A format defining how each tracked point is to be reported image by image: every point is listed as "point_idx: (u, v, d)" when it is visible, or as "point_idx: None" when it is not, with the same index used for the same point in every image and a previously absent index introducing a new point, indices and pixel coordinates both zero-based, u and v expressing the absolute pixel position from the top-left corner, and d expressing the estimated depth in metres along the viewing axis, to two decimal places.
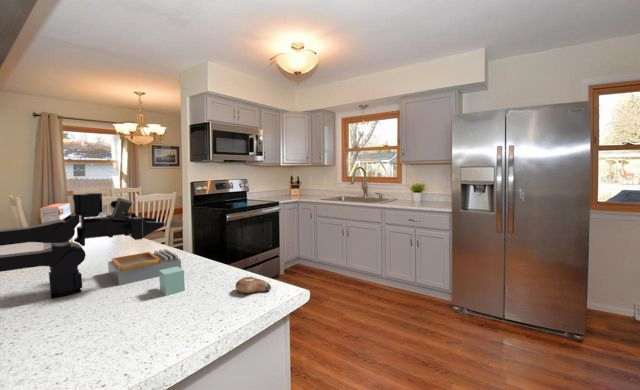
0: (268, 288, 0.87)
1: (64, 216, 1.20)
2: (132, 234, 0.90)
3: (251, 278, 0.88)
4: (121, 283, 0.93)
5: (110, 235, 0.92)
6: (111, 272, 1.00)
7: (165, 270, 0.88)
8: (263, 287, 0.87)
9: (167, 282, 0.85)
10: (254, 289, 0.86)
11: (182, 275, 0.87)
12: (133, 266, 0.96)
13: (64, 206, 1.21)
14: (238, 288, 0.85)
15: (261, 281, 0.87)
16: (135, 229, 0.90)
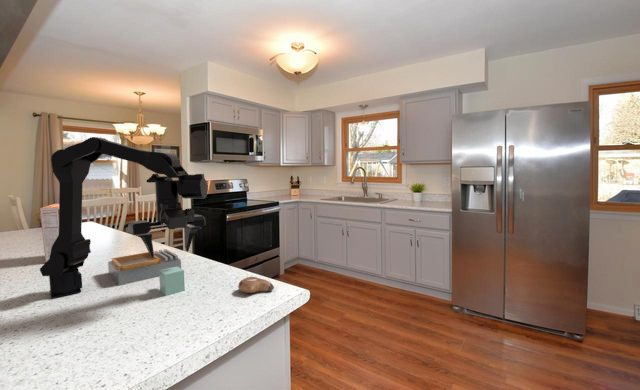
0: (271, 288, 0.87)
1: None
2: (130, 222, 0.81)
3: (254, 278, 0.88)
4: (121, 283, 0.93)
5: (155, 203, 0.86)
6: (111, 272, 1.00)
7: (165, 270, 0.88)
8: (266, 287, 0.87)
9: (167, 282, 0.85)
10: (257, 289, 0.86)
11: (182, 275, 0.87)
12: (133, 266, 0.96)
13: None
14: (241, 288, 0.85)
15: (264, 281, 0.87)
16: (130, 226, 0.80)
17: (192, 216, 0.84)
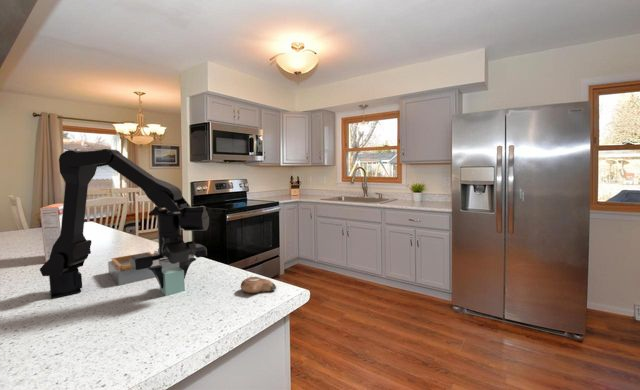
0: (273, 288, 0.87)
1: None
2: (132, 256, 0.82)
3: (256, 278, 0.88)
4: (121, 283, 0.93)
5: (157, 236, 0.87)
6: (111, 272, 1.00)
7: (165, 270, 0.88)
8: (268, 287, 0.87)
9: (167, 281, 0.85)
10: (259, 289, 0.86)
11: (182, 275, 0.87)
12: None
13: None
14: (243, 288, 0.85)
15: (266, 281, 0.87)
16: (132, 260, 0.81)
17: (194, 249, 0.84)
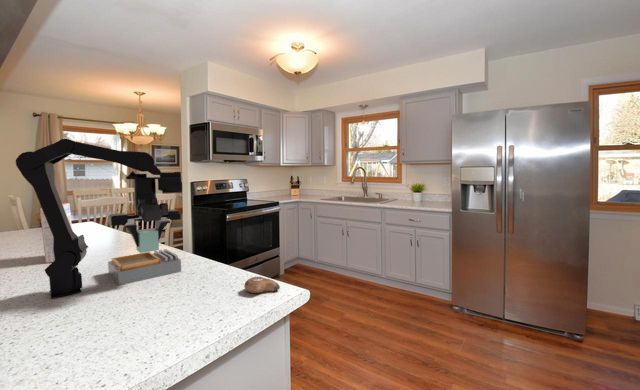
0: (277, 288, 0.87)
1: None
2: (110, 215, 0.90)
3: (260, 278, 0.88)
4: (121, 283, 0.93)
5: (134, 198, 0.94)
6: (111, 272, 1.00)
7: (141, 230, 0.95)
8: (272, 287, 0.87)
9: (141, 240, 0.92)
10: (263, 289, 0.86)
11: (156, 235, 0.95)
12: (133, 266, 0.96)
13: (64, 206, 1.21)
14: (247, 288, 0.85)
15: (270, 281, 0.87)
16: (109, 218, 0.88)
17: (166, 210, 0.92)
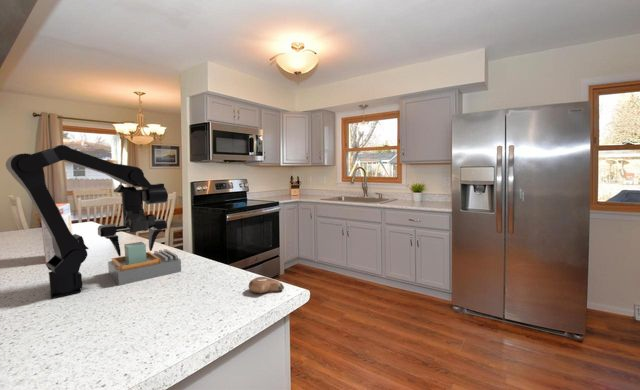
0: (281, 288, 0.87)
1: (64, 216, 1.20)
2: (99, 226, 0.96)
3: (264, 278, 0.88)
4: (121, 283, 0.93)
5: (122, 210, 1.00)
6: (111, 272, 1.00)
7: (129, 244, 1.01)
8: (276, 287, 0.87)
9: (130, 253, 0.98)
10: (267, 289, 0.86)
11: (144, 248, 1.01)
12: (133, 266, 0.96)
13: (64, 206, 1.21)
14: (251, 288, 0.85)
15: (274, 281, 0.87)
16: (99, 229, 0.94)
17: (153, 221, 0.98)
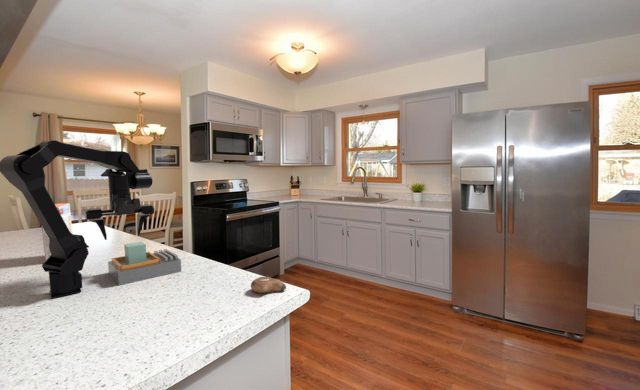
0: (283, 288, 0.87)
1: (64, 216, 1.20)
2: (86, 209, 0.97)
3: (266, 278, 0.88)
4: (121, 283, 0.93)
5: None
6: (111, 272, 1.00)
7: (129, 244, 1.01)
8: (278, 287, 0.87)
9: (130, 253, 0.98)
10: (270, 289, 0.86)
11: (144, 248, 1.01)
12: (133, 266, 0.96)
13: (64, 206, 1.21)
14: (254, 288, 0.85)
15: (276, 281, 0.87)
16: (85, 212, 0.96)
17: (138, 205, 0.99)
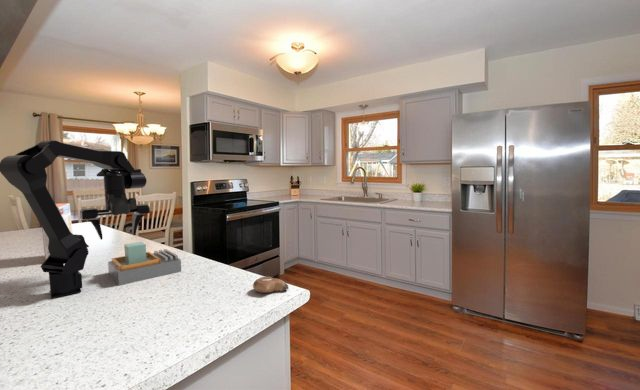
0: (286, 288, 0.87)
1: (64, 216, 1.20)
2: (81, 209, 0.97)
3: (268, 278, 0.88)
4: (121, 283, 0.93)
5: None
6: (111, 272, 1.00)
7: (129, 244, 1.01)
8: (281, 287, 0.87)
9: (130, 253, 0.98)
10: (272, 289, 0.86)
11: (144, 248, 1.01)
12: (133, 266, 0.96)
13: (64, 206, 1.21)
14: (256, 288, 0.85)
15: (279, 281, 0.87)
16: (80, 212, 0.96)
17: (134, 204, 0.99)
